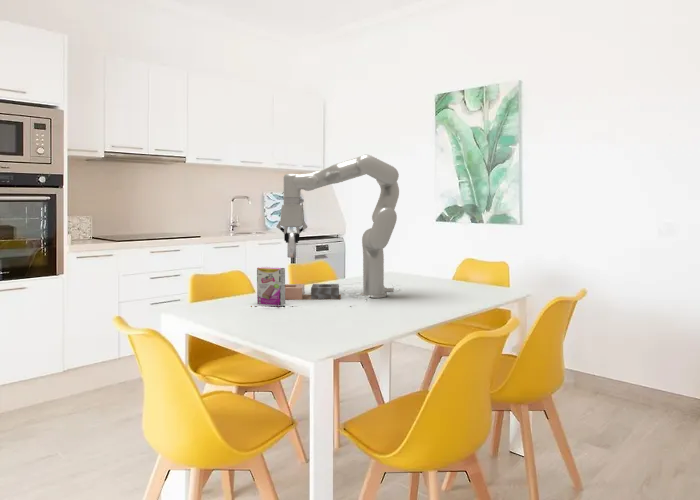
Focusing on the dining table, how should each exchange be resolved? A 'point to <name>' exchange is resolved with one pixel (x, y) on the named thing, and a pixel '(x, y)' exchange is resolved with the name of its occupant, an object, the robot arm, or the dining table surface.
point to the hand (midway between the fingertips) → (291, 242)
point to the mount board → (322, 292)
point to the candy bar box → (271, 286)
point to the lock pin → (291, 245)
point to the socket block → (294, 291)
